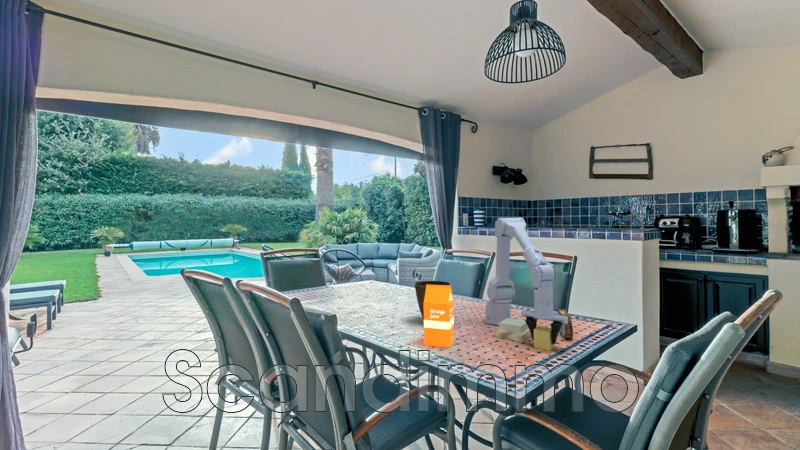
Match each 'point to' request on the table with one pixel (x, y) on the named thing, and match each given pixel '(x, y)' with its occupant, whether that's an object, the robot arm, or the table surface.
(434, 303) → the orange juice
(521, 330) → the sage top slab
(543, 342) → the mustard block
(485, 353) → the table surface
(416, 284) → the plant pot
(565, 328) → the tin
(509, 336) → the oak plinth
